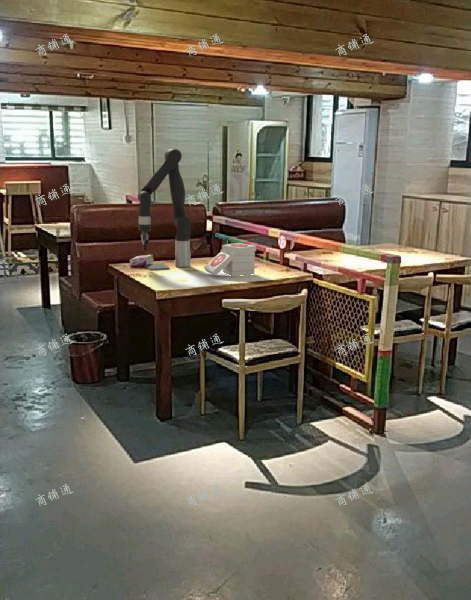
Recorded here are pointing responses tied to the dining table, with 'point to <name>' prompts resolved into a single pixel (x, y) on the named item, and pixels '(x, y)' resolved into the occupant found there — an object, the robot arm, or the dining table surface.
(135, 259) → the candy bar box
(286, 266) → the dining table surface
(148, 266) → the mat
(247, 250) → the stack of white boxes
